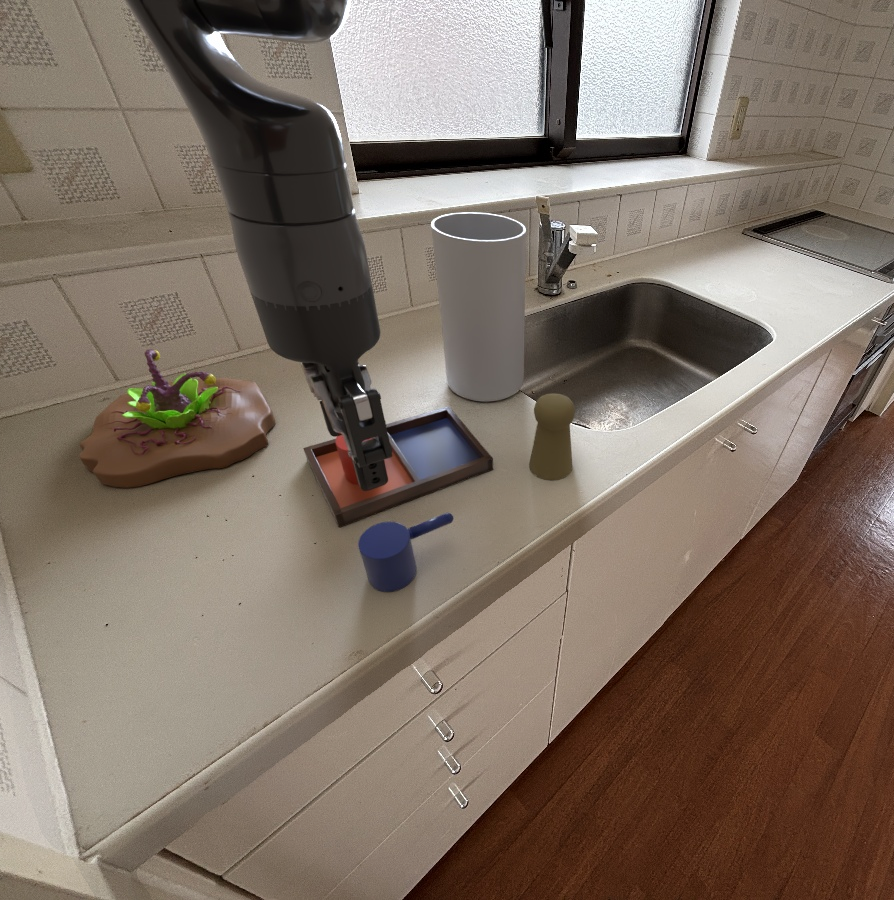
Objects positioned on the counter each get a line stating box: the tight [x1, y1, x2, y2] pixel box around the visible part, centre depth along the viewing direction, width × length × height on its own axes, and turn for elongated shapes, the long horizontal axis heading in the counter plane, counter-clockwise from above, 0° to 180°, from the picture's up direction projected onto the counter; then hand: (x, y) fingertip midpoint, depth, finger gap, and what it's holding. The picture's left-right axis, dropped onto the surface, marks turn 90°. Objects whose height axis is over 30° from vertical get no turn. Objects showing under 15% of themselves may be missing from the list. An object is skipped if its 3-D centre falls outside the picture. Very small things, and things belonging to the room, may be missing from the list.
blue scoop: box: [357, 512, 455, 593], centre depth 52 cm, size 10×5×6 cm, turn 127°
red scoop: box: [335, 435, 386, 485], centre depth 62 cm, size 10×5×6 cm, turn 37°
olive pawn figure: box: [528, 392, 576, 481], centre depth 65 cm, size 6×6×11 cm
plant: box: [78, 348, 276, 489], centre depth 62 cm, size 20×20×11 cm
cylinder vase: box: [430, 211, 527, 402], centre depth 75 cm, size 12×12×25 cm
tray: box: [303, 406, 494, 528], centre depth 65 cm, size 20×14×2 cm
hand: (357, 457), depth 44 cm, fingers open, 8 cm apart
